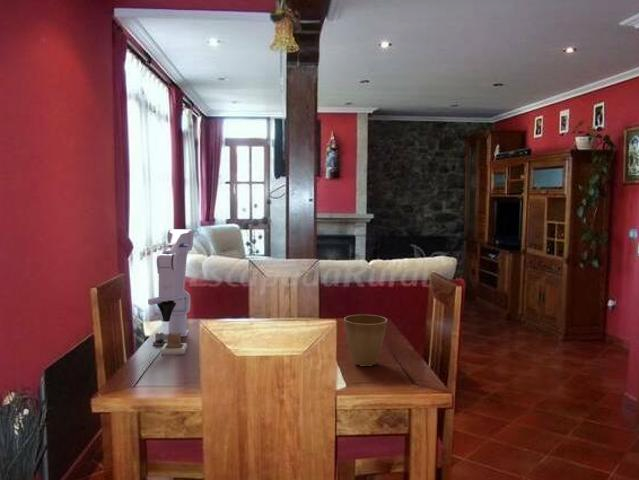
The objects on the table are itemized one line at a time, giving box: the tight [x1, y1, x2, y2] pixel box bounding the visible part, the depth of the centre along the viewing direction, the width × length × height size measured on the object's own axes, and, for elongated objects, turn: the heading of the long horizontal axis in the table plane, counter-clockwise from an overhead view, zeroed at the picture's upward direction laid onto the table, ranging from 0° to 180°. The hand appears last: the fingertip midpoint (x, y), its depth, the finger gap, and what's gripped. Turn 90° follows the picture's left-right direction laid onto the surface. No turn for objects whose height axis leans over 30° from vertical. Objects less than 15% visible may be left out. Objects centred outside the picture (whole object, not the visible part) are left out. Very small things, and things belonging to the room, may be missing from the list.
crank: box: [154, 331, 168, 342], centre depth 203 cm, size 9×3×3 cm, turn 95°
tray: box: [160, 342, 188, 356], centre depth 193 cm, size 8×8×2 cm
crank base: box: [152, 332, 179, 347], centre depth 203 cm, size 6×10×4 cm, turn 97°
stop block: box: [167, 333, 182, 349], centre depth 193 cm, size 4×4×6 cm
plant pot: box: [343, 314, 388, 366], centre depth 183 cm, size 15×15×16 cm
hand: (166, 321), depth 199 cm, fingers closed
